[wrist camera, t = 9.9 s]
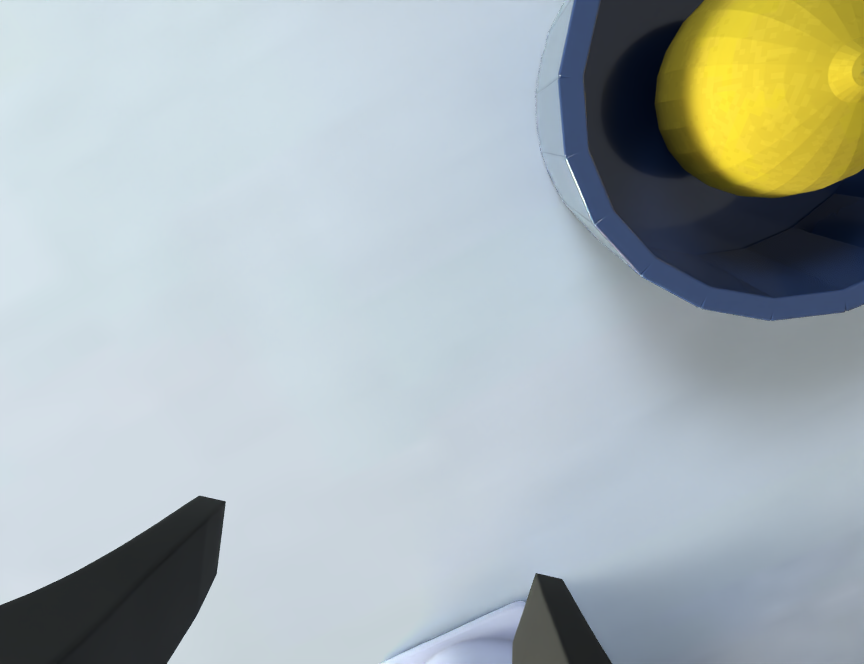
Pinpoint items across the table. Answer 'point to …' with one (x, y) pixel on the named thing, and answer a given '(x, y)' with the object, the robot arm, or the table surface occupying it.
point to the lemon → (766, 95)
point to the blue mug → (681, 179)
